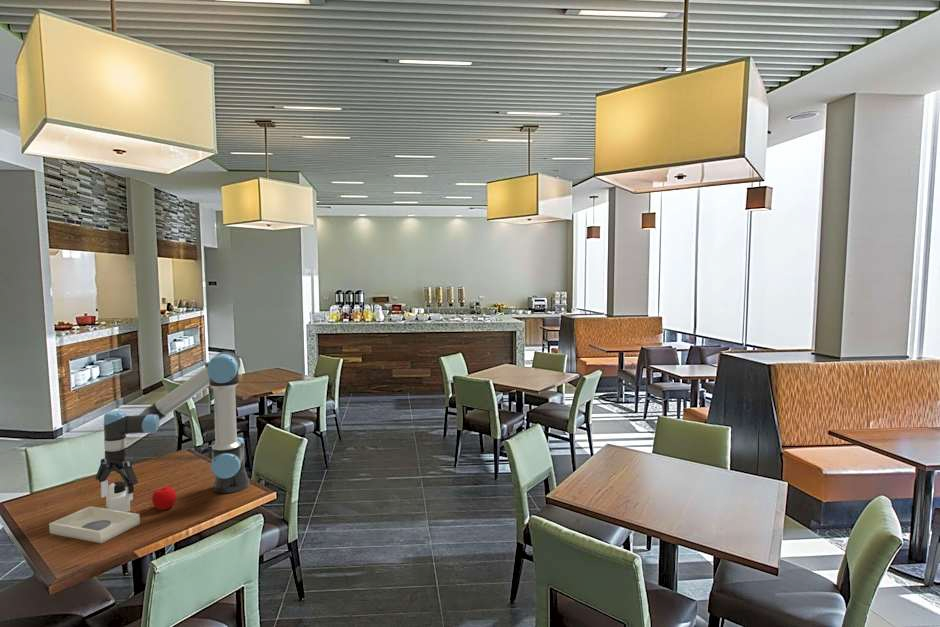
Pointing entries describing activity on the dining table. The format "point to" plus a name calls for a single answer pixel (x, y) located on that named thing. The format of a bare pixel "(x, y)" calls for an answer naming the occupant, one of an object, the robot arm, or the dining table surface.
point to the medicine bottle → (117, 497)
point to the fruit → (164, 498)
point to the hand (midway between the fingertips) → (116, 498)
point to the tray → (94, 524)
